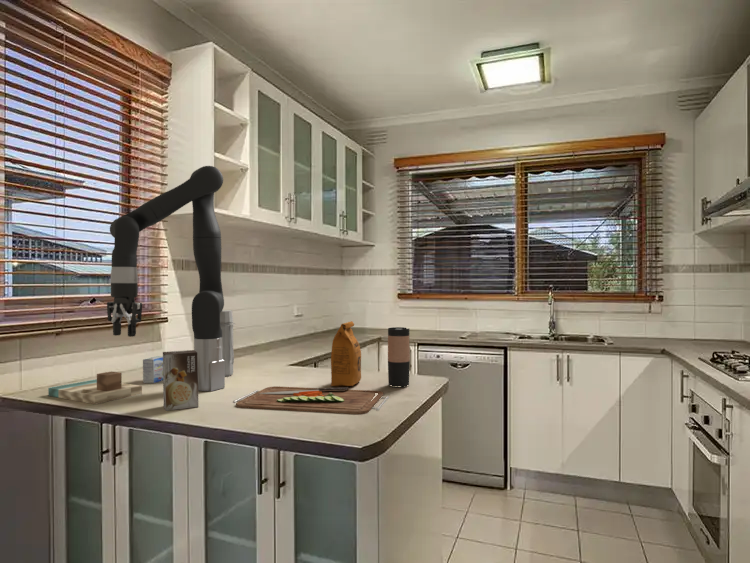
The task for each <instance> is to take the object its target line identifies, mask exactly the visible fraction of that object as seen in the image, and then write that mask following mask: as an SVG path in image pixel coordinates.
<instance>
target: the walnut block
mask: <svg viewBox="0 0 750 563" xmlns="http://www.w3.org/2000/svg"><path fill="white" fill-rule="evenodd" d="M96 379H97V390H101V391H111V390H116V389H121V388H122V383H123V382H122V372H119V371H112V370H111V371H105V372H99V373H96Z"/></svg>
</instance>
